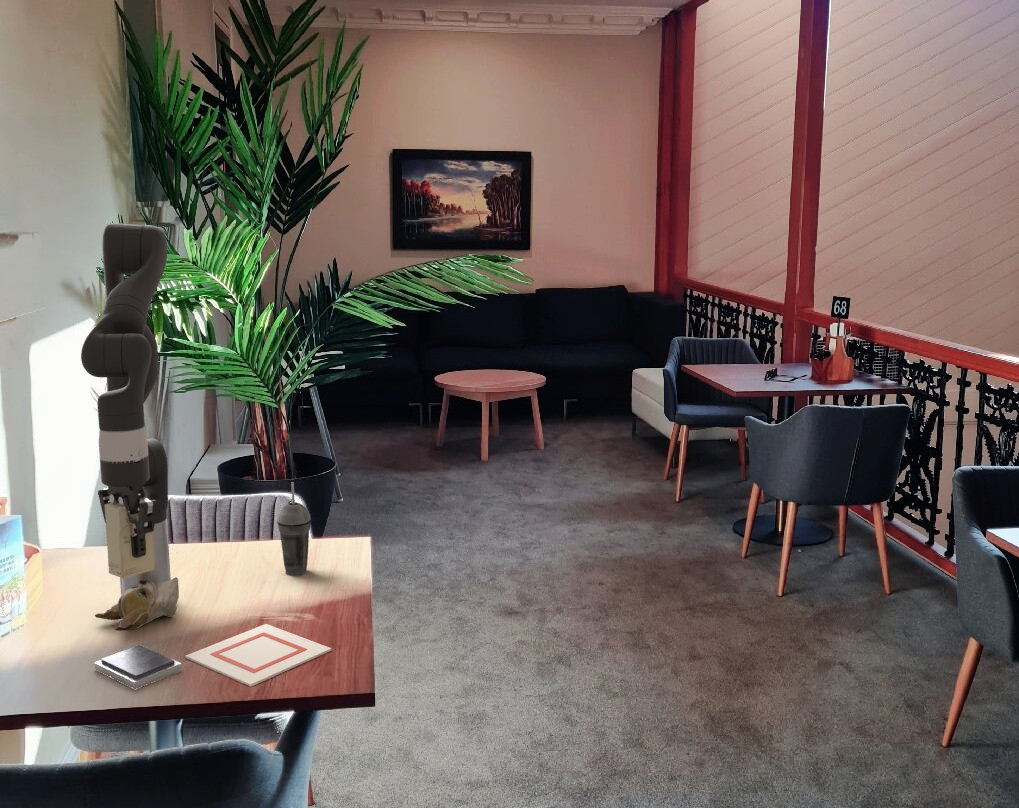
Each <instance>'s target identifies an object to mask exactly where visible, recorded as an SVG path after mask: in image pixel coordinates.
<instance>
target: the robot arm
mask: <svg viewBox="0 0 1019 808" xmlns="http://www.w3.org/2000/svg"><path fill="white" fill-rule="evenodd" d="M102 233H103V234H102V242H101V243H102V244H101V245H102V246H101V247H102V249H101V250H102V265H103V278H104V279H103V280H104V291H105V292H104V293H105V302H104V306H103V311H102V315H101V319H99V321H98V322H97V324H95V326H94V327H93V328H92V329H91V331H90V332H89V333H88V335H87V336H86V338H85V340H84V342H83V344H82V348H81V352H80V353H81V354H80V358H81V359H80V361H81V365H82V366H83V369H84V370H85V371H86V373H87V374H89V375H90V376H93V377H95V378H106V391H105V392H103V393H101V394H100V395H99V396H98V398H97V416H98V431H99V432H98V449H99V450H98V453H99V465H100V466H99V467H100V468H99V469H100V480H101V483H102V484H103V486H106V487H107V488H106V487H105V488H102V489H98V491H97V495H98V500H99V502H100V507H101V511H102V516H103V520H104V523H105V524H106V518H105V504H108V503H112V504H117V503H119V504H120V506H121V507H125V511H126V522H127V523H128V524H129V528H130V532H131V535H132V536H131V547H132V556H133V557H135V558H138V557H142V556H144V555H145V554H146V540H145V535H146V533H149V532H152V534H153V551H154V570H151V571H148V572H145V573H141V574H138V575H134V576H131V577H127V578H120V577H119V583H120V596H121V595H122V594H123V593H124V591H126V590H127V589H131V588H132V587H136V586H138V585H139V582H140V581H141V580H148V581H151V582H153V583H154V584H155V585H161V584H162V583H163V582H165V581H168V580H171V579H172V577H171V561H170V545H169V532H168V527H169V526H168V515H167V514H168V513H167V512H168V511H167V510H168V507H169V492H168V491H169V468H168V467H169V464H168V457H167V453H166V450H165V447H164V445H163V443H162V442H160V440H158V439H157V438H148V437H147V432H146V426H145V410H144V409H145V407H144V404H145V402H147V399H148V397H149V396H150V394H151V392H152V390H153V389H154V387H155V385H156V383H157V379H158V373H159V372H158V370H159V364H158V363H159V362H158V360H159V357H158V355H159V354H158V351H159V349H158V348H159V347H158V343H157V340H156V337H155V335H154V334H153V332H152V330H151V328H150V327H149V326H148V324H147V319H148V314H149V309H150V304H151V302H152V300H153V297H154V295H155V293H156V291H157V289H158V286H159V283H160V281H161V278H162V276H163V274H164V272H165V268H166V265H167V260H168V241H167V236H166V233H165V231H164V230H163V229H162V228H161V227H159V226H156V225H149V224H148V225H147V224H131V223H120V222H119V223H117V222H116V223H108V224H107V225H106V226H105V227H104V230H103V232H102ZM124 275H130V276H129V277H127V278H126V279H124ZM128 506H129V507H128ZM137 513H139V516H137V517H131V515H133V514H137ZM130 514H131V515H130ZM136 521H138V524H137V529H136V525H135V522H136ZM146 522H148V525H146Z"/></svg>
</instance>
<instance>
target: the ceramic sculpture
mask: <svg viewBox="0 0 1019 808" xmlns="http://www.w3.org/2000/svg"><path fill="white" fill-rule="evenodd" d="M179 588H180V587H179V578H178V577H174V578H171V580H168V581H165V582H163V583H162V584H161V585H155V584H154V583H153V582H151V581H148V580H141V581H140V582H139V585H138V586H136V587H132V588H131V589H127V590H126V591H124V593H123V594H122V595H121V594H120V597H119V598H118V602H117V603H116V604H114V605H113V606H111V608H109V609H107V610H105V612H104V613H96V614H94V617H95V618H97V619H101V620H108V621H118V620H120V622H119V624H118V625H117V627H115V629H114V631H117V632H131V631H134V630H138V629H139V628H140V627H141V626H143V625H145V624H148V623H150V622H151V621H153V620H156V619H158V618H160V617H162V616H165V617H168V618H172V617H174V616H175V615H176V613H177V609H178V606H177V604H178V601H179V598H180V593H179V592H180V590H179Z"/></svg>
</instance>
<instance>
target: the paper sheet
mask: <svg viewBox="0 0 1019 808" xmlns="http://www.w3.org/2000/svg"><path fill="white" fill-rule="evenodd" d="M331 651H332V648H331V647H329V646H326V645H323V644H322V643H321V644H320V643H318V642H316V641H313V640H310V639H307V638H305V637H302V636H300V635H298V634H294V633H292V632H289V631H286V630H284V629H281V628H279V627H276V626H273V625H271V624H268V623H264V624H262V625H259V626H256V627H254V628H252V629H250V630H247V631H245V632H242V633H239V634H237V635H234V636H231V637H229V638H227V639H224V640H221V641H219V642H217V643H214V644H211V645H209V646H207V647H204V648H201V649H199V650H196V651H194V652H192V653H189V654H186V655H184V657H185V659H187V660H190V661H191V662H193V663H196V664H198V665H200V666H202V667H205V668H207V669H209V670H212V671H214V672H217V673H219V674H221V675H223V676H225V677H228V678H230V679H232V680H234V681H237V682H240V683H242V684H244V685H245V686H249V687H253V686H255V685H256V686H257V685H258V684H260V683H262V682H265V681H267V680H269V679H271V678H274V677H276V676H277V675H280V674H282V673H284V672H287V671H289V670H291V669H293V668H295V667H298V666H300V665H302V664H304V663H307V662H309V661H311V660H313V659H315V658H316V659H317V658H318V657H320V656H322V655H325V654H327V653H329V652H331Z"/></svg>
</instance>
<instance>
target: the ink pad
mask: <svg viewBox="0 0 1019 808" xmlns="http://www.w3.org/2000/svg"><path fill="white" fill-rule="evenodd" d="M93 666H94V670H95V669H96V670H98V671H100V672H102V673H104V674H106V675H108V676H111V677H112V678H114V679H116V680H118V681H120V682H122V683H124V684H126V685H128V686H130V687H133V688H134V689H136V688H139V687H141V686H144V685H146V684H149V683H151V682H154V681H156V682H158V681H157V680H159V681H161V680H163V678H164V679H166V678H168V677H171V676H174V675H176V674H178V673H180V672H182V671H183V669H182V668H183V666H182V662H179V661H177V660H175V659H174V658H173V659H172V658H170V657H168V656H167V655H163V654H161V653H159V652H157V651H155V650H152V649H150V648H148V647H145V646H143V645H141V644H137V645H135V646H133V647H130V648H126V649H124V650H122V651H119V652H116V653H114V654H111V655H108V656H106V657H103V658H100V660H97V661H95V662H94V665H93ZM100 672H99V673H100ZM102 673H101V674H102ZM104 674H103V675H104ZM106 675H105V676H106ZM108 676H107V677H108ZM165 677H166V678H165ZM112 678H111V679H112ZM114 679H113V680H114ZM160 679H161V680H160ZM116 680H115V681H116ZM118 681H117V682H118ZM120 682H119V683H120ZM122 683H121V684H122ZM154 683H155V682H154ZM124 684H123V685H124ZM151 684H152V683H151ZM126 685H125V686H126ZM149 685H150V684H149ZM128 686H127V687H128ZM146 686H147V685H146ZM130 687H129V688H130ZM144 687H145V686H144ZM141 688H142V687H141ZM134 689H133V690H134ZM139 689H140V688H139Z"/></svg>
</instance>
